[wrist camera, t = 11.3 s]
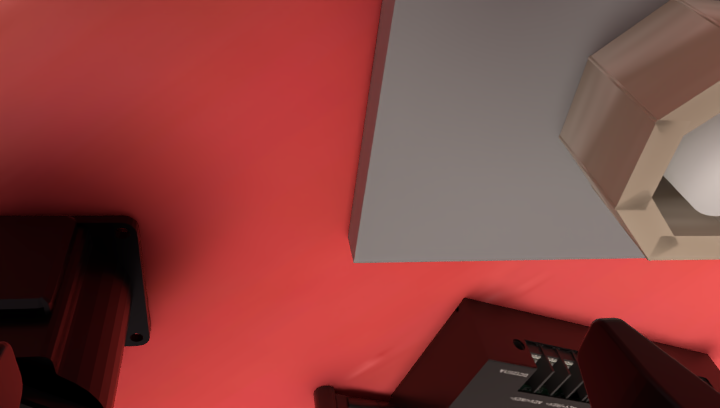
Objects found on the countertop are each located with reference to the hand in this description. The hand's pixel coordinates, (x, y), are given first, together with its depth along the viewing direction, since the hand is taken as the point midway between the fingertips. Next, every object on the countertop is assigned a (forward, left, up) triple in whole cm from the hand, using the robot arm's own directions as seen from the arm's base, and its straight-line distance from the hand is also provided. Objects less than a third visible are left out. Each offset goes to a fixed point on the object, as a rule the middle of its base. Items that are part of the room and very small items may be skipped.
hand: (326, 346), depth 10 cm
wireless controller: (-19, -13, -13) cm, 26 cm away
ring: (-1, -13, -10) cm, 17 cm away
